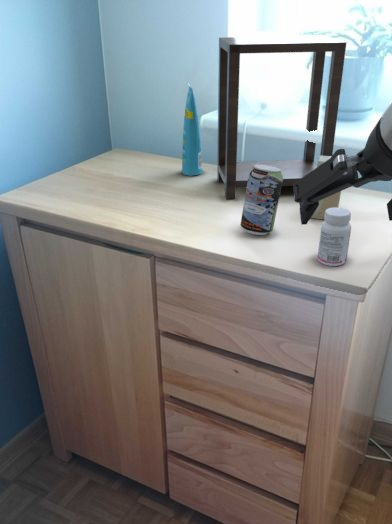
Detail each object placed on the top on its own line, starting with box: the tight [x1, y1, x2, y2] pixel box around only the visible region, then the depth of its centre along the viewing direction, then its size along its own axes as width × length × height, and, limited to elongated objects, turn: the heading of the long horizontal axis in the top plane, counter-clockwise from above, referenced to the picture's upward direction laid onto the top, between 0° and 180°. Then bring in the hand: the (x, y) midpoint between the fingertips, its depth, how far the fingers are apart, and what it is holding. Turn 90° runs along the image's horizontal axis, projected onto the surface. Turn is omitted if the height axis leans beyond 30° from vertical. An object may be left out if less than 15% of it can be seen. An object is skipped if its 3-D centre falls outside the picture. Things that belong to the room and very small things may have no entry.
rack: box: [216, 35, 347, 201], centre depth 117 cm, size 14×22×29 cm, turn 96°
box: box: [310, 155, 342, 220], centre depth 107 cm, size 5×4×11 cm
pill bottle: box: [317, 207, 352, 267], centre depth 90 cm, size 5×5×8 cm
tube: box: [181, 83, 203, 177], centre depth 129 cm, size 7×5×19 cm, turn 12°
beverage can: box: [240, 164, 283, 236], centre depth 100 cm, size 6×7×12 cm
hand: (346, 214), depth 84 cm, fingers open, 13 cm apart
